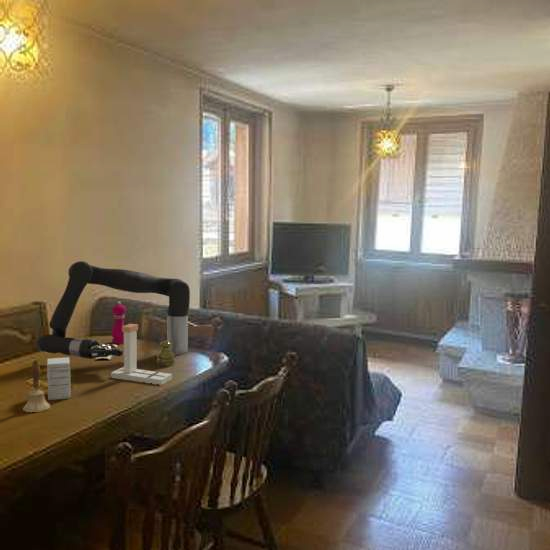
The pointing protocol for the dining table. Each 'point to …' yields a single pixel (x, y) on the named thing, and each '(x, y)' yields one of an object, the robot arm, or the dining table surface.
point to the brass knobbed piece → (165, 355)
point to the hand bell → (36, 393)
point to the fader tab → (130, 347)
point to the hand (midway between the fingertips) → (121, 353)
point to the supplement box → (58, 378)
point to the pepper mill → (118, 324)
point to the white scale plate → (142, 376)
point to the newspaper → (108, 356)
